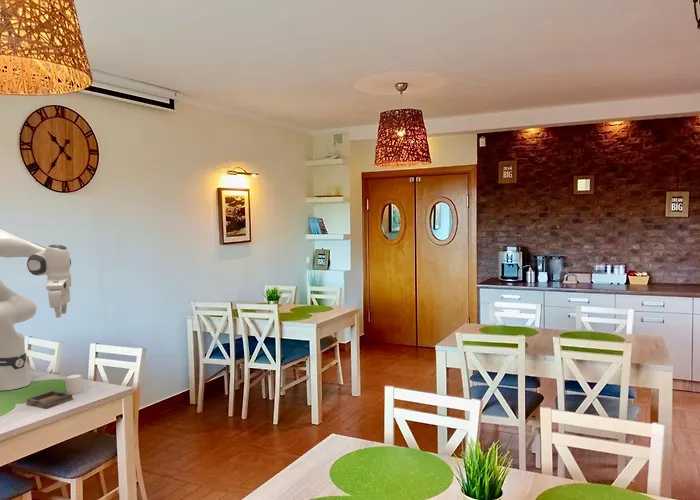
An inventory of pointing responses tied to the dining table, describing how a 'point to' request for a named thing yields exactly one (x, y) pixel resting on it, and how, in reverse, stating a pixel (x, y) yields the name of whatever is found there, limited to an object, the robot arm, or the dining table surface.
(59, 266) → the robot arm
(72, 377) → the white cup
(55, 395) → the tray
